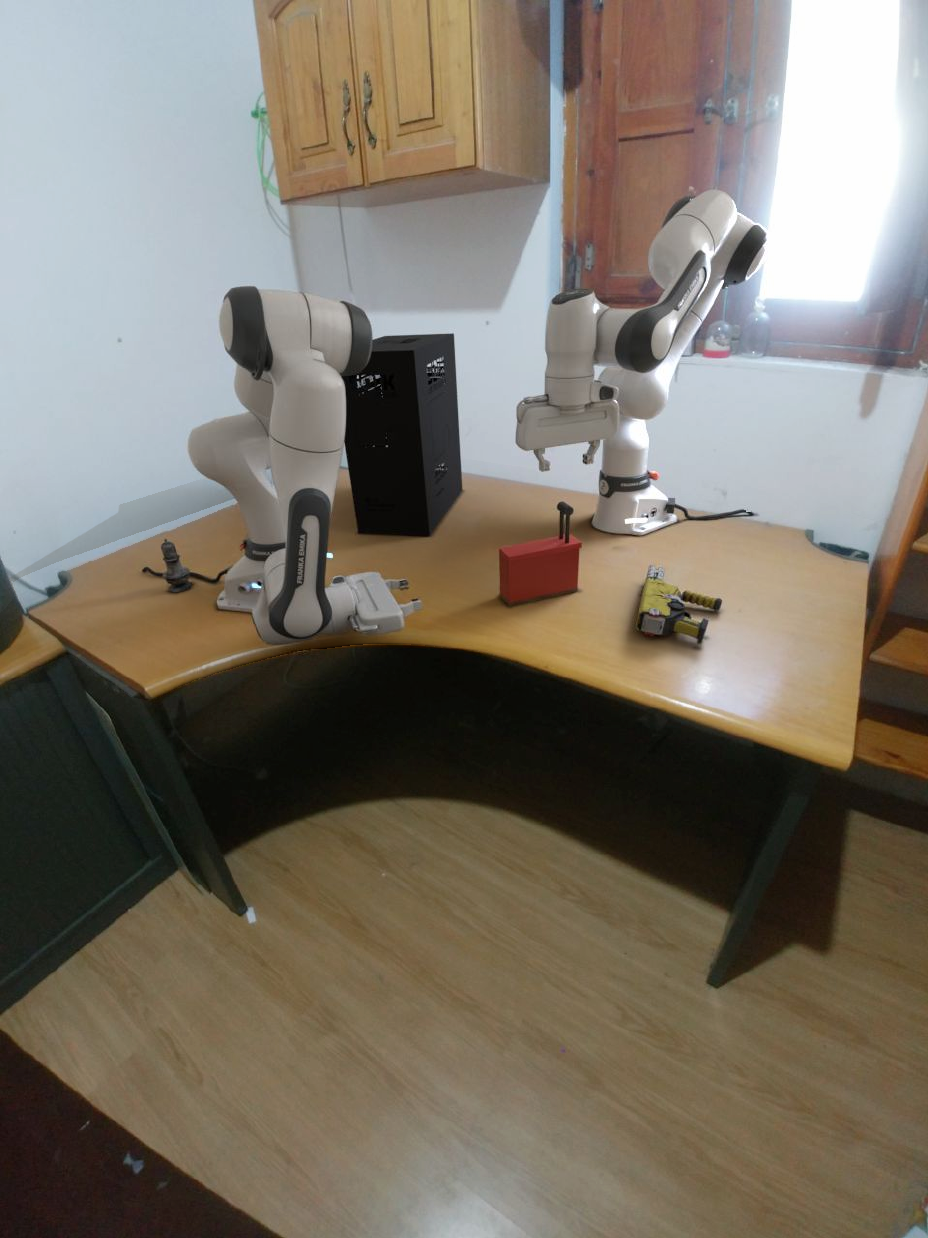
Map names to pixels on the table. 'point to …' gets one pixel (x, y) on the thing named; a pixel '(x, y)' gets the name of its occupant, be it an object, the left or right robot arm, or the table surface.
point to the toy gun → (670, 608)
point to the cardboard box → (404, 435)
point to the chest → (538, 577)
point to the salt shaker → (175, 569)
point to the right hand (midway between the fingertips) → (566, 466)
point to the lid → (545, 541)
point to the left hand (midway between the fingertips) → (414, 593)
